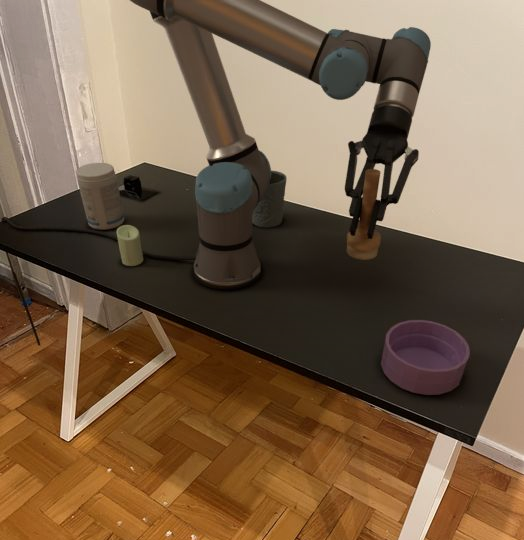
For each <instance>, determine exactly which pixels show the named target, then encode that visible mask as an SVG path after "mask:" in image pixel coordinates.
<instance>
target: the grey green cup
mask: <svg viewBox="0 0 524 540" xmlns="http://www.w3.org/2000/svg"><path fill="white" fill-rule="evenodd" d="M286 186H287V175H286V174H285V173H283V172H281V171H278V170H271V180H270V184H269V187H268V189H267V191H266V193H265V195H264V196H263V197H262V198H261V200H260V202H259V203H258V205H257V206H256V208H255V209H254V211H253V214H252V225H255V226H256V227H258V228H259V227H260V228H275V227H277V226H279V225H281V224H282V222H283V218H284V202H285V196H286Z"/></svg>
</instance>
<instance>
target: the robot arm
mask: <svg viewBox="0 0 524 540" xmlns="http://www.w3.org/2000/svg"><path fill="white" fill-rule="evenodd" d="M129 1H130V2H131V3H133V4H134V5H136V6H138V7H140V8H142V9H144V10H147V11H149V13H150V17H151V19H152V21H153V22H154V23H155V24H157V25H159V26H161V27H162V28H163V29H164V31H165V34H166V37H167V39H168V43H169V45H170V47H171V50H172V53H173V55H174V58H175V60H176V63H177V65H178V68H179V71H180V73H181V75H182V78H183V79H182V80H183V81H184V83H185V86H186V90H187V92H188V95H189V97H190V100H191V102H192V105H193V107H194V110H195V113H196V115H197V118H198V120H199V123H200V126H201V129H202V131H203V134H204V136H205V139H206V141H207V144H208V147H209V149H208V152H207V154H206V156H205V157H206V160H207V163H208V165H207V166H205V167H204V168H202V169H201V170H200V171H199V172H198V173H197V176H196V177H195V188H194V197H195V203H196V214H197V227H198V237H199V245H198V248H197V251H196V256H168V255H167V256H166V255H158V254H153V253H148V252H146V251H143V250H142V254H143V256H145V257H149V258H153V259H159V260H167V261H168V260H169V261H194V263H193V275H194V278H195V279H196V281H197V282H198V283H199V284H201V285H202V286H204V287H207V288H210V289H214V290H222V291H231V290H238V289H242V288H246V287H248V286H250V285H252V284H254V283H255V282H256V281H257V280H258V279H259V278H260V276H261V267H262V266H261V261H260V258H259V256H258V254H257V250H256V247H255V244H254V242H253V223H252V214H253V211H254V209H255V208H256V206H257V205H258V203H259V202H260V200H261V198H262V197H263V196H264V195H265V193H266V191H267V189H268V187H269V184H270V180H271V171H272V168H271V164H270V161H269V159H268V158H267V156H266V155H265V153H264V152H263V151H261V150H260V149H259V146H258V144H257V141H256V138H255V137H253V136H251V135H249V134H248V133H246V130H245V126H244V124H243V121H242V119H241V116H240V111H239V109H238V106H237V103H236V100H235V98H234V95H233V91H232V88H231V85H230V82H229V80H228V76H227V73H226V70H225V67H224V64H223V62H222V58H221V56H220V53H219V50H218V47H217V43H216V41H215V38H214V35H215V36H216V37H218V38H221V39H223V40H225V41H227V42H229V43H232V44H233V45H235V46H238V47H240V48H242V49H244V50H246V51H248V52H250V53H252V54H254V55H257V56H259V57H260V58H262V59H265V60H266V61H268V62H271V63H273V64H275V65H278V66H280V68H281V67H282V68H283V69H285V70H287V71H289V72H291V73H294V74H296V75H298V76H300V77H302V78H305V79H306V80H308V81H311V82H313V83H315V84H317V85H318V86H320V87H321V88H322V91H323V92H324V94H326V96H328V97H329V98H331V99H333V100H336V101H343V100H348V99H350V98H352V97H354V96H355V95H356V94H357V93H358V92H359V91H360V90H361V88H363V86H364V85H365V83H372V84H376V85H379V87H378V90H377V94H376V98H375V100H374V101H375V102H374V105H373V111H372V113H371V116H370V120H369V123H368V127H367V131H366V133H365V134H364V136H363V137H362V139H361V140H359V141H355V142H354V141H353V140H350V141H349V142H348V143H347V145H348V151H349V157H348V164H347V169H346V177H345V182H344V193H345V196H346V197H349V198H351V201H350V204H349V209H348V213H349V217H352V219H351V222H350V227H349V231H348V232H350V234H351V235H352V236H355V233H356V229H358V227H359V219H360V212H361V204H362V196H363V188H364V180H365V172H366V170H368V169H375V167H376V165H383V166H384V170H383V176H382V185H381V191H380V192H381V193H380V199H377V200H376V202H375V206H374V209H373V213H372V217H371V221H370V224H369V228H368V232H367V235H368V239H372V238H373V234H374V231H376V226H377V222H383V220H384V218H385V215H386V210H387V207H388V206H389V205H391V204H394V205H396V204H397V205H398V204H399V201H400V200H401V196H402V193H403V191H404V188H405V186H406V183H407V180H408V178H409V175H410V173H411V170H412V168H413V167H414V165H416V163H417V162H418V160H419V155H420V152H419V151H420V150H418V149H417V148H415V149H413V148H412V147H409V141H408V138H409V134H410V130H411V126H412V123H413V117H414V116H415V113H416V112H415V111H416V108H417V104H418V100H419V95H420V92H421V88H422V85H423V81H424V78H425V74H426V70H427V67H428V63H429V57H430V52H431V46H432V42H431V38H430V37H429V35H428V33H426V32H425V31H424V30H422V29H420V28H418V27H414V26H409V27H408V28H405V27H402V28H400V29H398V30H397V31H396V32H395V33H394V34H393V36H392V38H384V37H383V38H382V37H377V36H372V35H369V34H364V33H359V32H356V31H355V32H354V31H350V30H349V29H337V28H332V29H330V30H329V31H328V32H326V31H324V30H322V29H320V28H318V27H316V26H314V25H312V24H310V23H307V22H306V21H303V20H302V19H299V18H298V17H296V16H293V15H291V14H289V13H287V12H285V11H283V10H281V9H279V8H277V7H275V6H273V5H271V4H269V3H267V2H265V1H263V0H129ZM362 150H364V152H365V154H366V159H365V163H364V166H363V168H362V170H361V172H360V175H359V177H358V180H357V182H356V185H354V184H355V178H356V173H357V172H356V171H357V165H358V156H359V155H361V152H362ZM403 155H404V162H403V165H402V167H401V169H400V172H399V174H398V177H397V180H396V183H395V185H394V188H393V191H392V193H390V189H391V181H392V175H393V174H392V173H393V166H394V163H395V162H396V161H398V159H400V158H401V157H402V156H403ZM354 186H355V187H354ZM0 221H1V222H5V221H6V222H7V223H8V224H9V225H10V226H12V227H13V228H15V229H18V230H23V231H24V230H25V231H64V232H65V231H67V232H78V233H79V232H80V233H89V234H93V235H99V236H101V237H105V238H109V239H112V240H115V241H116V242H118V238H117V236H116V235H112V234H109V233H106V232H102V231H99V230H93V229H85V228H77V227H63V226H62V227H61V226H60V227H59V226H58V227H57V226H55V227H54V226H20V225H17V224H16V223H14V222H13V221H12V220H11V219H10V218H9V217H8V216H3V217H1V219H0ZM11 273H12V275H13V279H14V282H15V284H16V288H17V290H18V293H19V296H20V298H21V301H22V304H23V307H24V310H25V312H26V314H27V318H28V321H29V323H30V326H31V328H32V332H33V335H34V337H35V341H36V343H37V346H41V342H40V338H39V336H38V333H37V330H36V326H35V324H34V321H33V319H32V315H31V313H30V310H29V308H28V304H27V302H26V299H25V296H24V294H23V291H22V287H21V285H20V282H19V279H18V276H17V273H16V272H14V270H13V271H12V270H11Z"/></svg>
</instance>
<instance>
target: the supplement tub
mask: <svg viewBox="0 0 524 540" xmlns="http://www.w3.org/2000/svg"><path fill="white" fill-rule="evenodd" d="M75 174H76V180H77V184H78V189H79V193H80V196H81V201H82V204H83V209H84V214H85V217H86V220H87V225H88V226H89V227H90V228H92V229H94V230H96V231H109V230H112V229H117V228H119V227H120V226H122V225H123V223H124V221H125V214H124V209H123V204H122V199H121V195H120V194H119V189H118V187H119V185H118V178H117V174H116V171H115V168H114V166H113V165H112V164H110V163H107V162H93V163H87V164H83V165H81V166H79V167H78V168H77V169H75Z"/></svg>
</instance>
